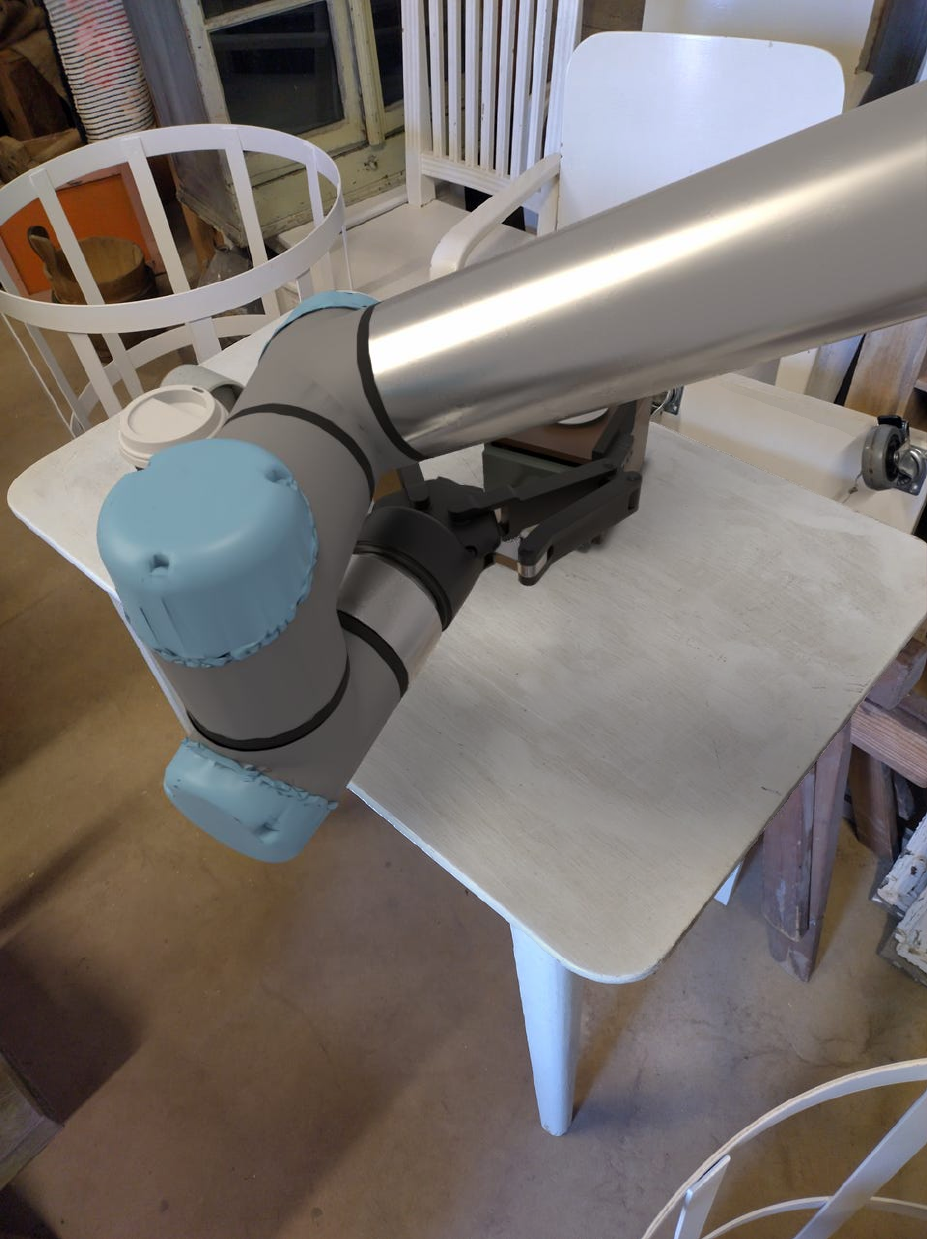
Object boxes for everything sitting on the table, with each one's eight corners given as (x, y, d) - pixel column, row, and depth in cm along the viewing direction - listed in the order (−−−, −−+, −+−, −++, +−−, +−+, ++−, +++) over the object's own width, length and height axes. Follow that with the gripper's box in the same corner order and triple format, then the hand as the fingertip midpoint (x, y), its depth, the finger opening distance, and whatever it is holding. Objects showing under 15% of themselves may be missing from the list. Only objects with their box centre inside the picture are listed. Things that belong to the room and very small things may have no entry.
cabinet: (600, 544, 76) (607, 463, 68) (487, 511, 79) (482, 431, 72) (643, 462, 82) (655, 381, 75) (537, 435, 86) (538, 355, 79)
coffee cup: (286, 547, 78) (243, 417, 66) (193, 592, 75) (131, 465, 63) (244, 494, 83) (198, 365, 72) (156, 534, 80) (93, 407, 69)
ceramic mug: (217, 403, 93) (195, 344, 87) (264, 429, 90) (244, 369, 84) (142, 453, 89) (113, 394, 83) (188, 482, 85) (161, 422, 79)
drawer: (571, 579, 72) (575, 514, 66) (465, 546, 75) (460, 481, 69) (629, 470, 80) (638, 404, 74) (532, 445, 84) (533, 380, 78)
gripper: (230, 577, 53) (392, 395, 64) (593, 711, 45) (704, 474, 56) (192, 489, 47) (378, 306, 59) (603, 624, 39) (724, 380, 50)
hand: (538, 388), depth 57 cm, fingers open, 13 cm apart
